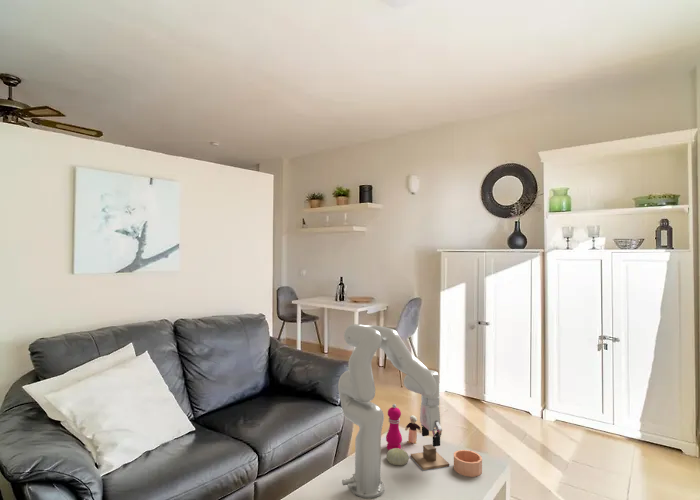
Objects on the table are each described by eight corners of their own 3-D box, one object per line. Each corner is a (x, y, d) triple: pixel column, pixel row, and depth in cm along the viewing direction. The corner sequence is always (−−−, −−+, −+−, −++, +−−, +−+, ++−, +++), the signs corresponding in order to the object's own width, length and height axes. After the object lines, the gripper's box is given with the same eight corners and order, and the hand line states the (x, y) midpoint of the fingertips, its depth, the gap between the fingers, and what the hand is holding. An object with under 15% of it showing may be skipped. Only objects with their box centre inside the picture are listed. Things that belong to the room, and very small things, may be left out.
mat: (422, 471, 161) (422, 471, 161) (408, 456, 174) (408, 455, 174) (451, 467, 165) (451, 466, 165) (435, 452, 178) (435, 452, 178)
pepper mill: (389, 453, 176) (389, 407, 177) (383, 446, 183) (384, 402, 184) (404, 451, 178) (404, 406, 179) (398, 444, 185) (398, 400, 186)
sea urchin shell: (405, 465, 163) (393, 447, 166) (393, 475, 165) (380, 458, 168) (413, 455, 171) (401, 439, 174) (401, 465, 173) (389, 449, 176)
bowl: (463, 478, 156) (463, 464, 157) (448, 465, 167) (448, 451, 167) (487, 475, 160) (487, 461, 160) (471, 461, 170) (471, 448, 170)
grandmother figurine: (404, 444, 186) (405, 416, 186) (404, 440, 189) (405, 413, 190) (421, 445, 184) (421, 417, 185) (421, 441, 188) (421, 414, 189)
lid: (423, 470, 162) (423, 455, 162) (410, 456, 173) (410, 442, 174) (449, 466, 165) (449, 451, 166) (435, 452, 177) (435, 439, 177)
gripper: (413, 394, 177) (413, 433, 177) (432, 409, 161) (432, 451, 161) (428, 392, 180) (429, 430, 179) (448, 406, 163) (449, 448, 163)
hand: (430, 440), depth 170 cm, fingers open, 9 cm apart
